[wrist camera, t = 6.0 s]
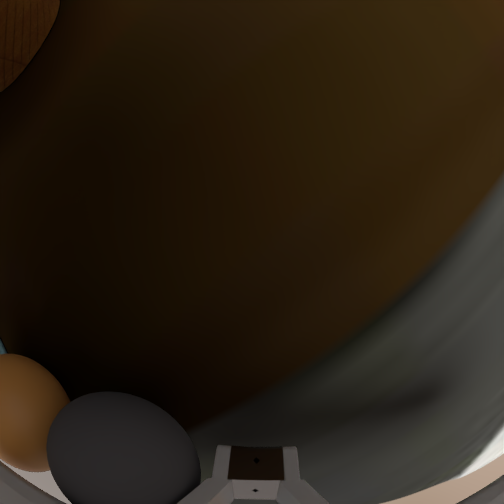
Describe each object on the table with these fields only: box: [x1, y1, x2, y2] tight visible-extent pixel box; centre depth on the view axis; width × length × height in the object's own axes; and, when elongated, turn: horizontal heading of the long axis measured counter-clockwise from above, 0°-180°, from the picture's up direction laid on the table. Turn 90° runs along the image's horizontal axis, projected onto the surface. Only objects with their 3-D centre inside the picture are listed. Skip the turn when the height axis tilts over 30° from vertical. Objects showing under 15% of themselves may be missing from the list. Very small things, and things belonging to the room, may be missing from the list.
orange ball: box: [0, 354, 70, 472], centre depth 7 cm, size 6×6×6 cm
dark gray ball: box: [46, 391, 201, 504], centre depth 7 cm, size 6×6×6 cm
